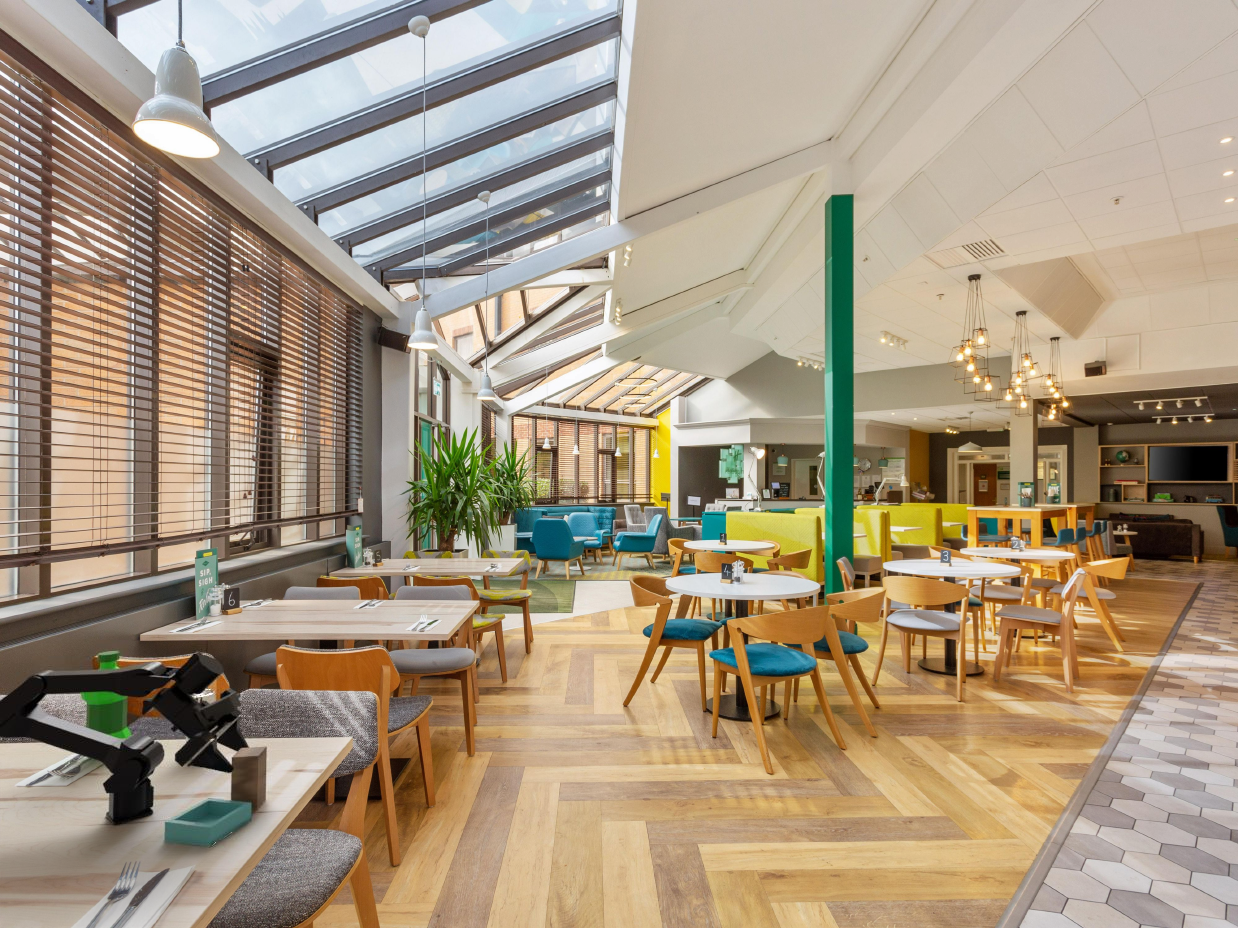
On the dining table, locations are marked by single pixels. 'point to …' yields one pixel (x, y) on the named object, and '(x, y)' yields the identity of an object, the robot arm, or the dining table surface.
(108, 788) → the robot arm
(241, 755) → the walnut post
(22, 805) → the dining table surface
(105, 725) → the plastic bottle
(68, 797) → the dining table surface
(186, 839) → the teal tray
